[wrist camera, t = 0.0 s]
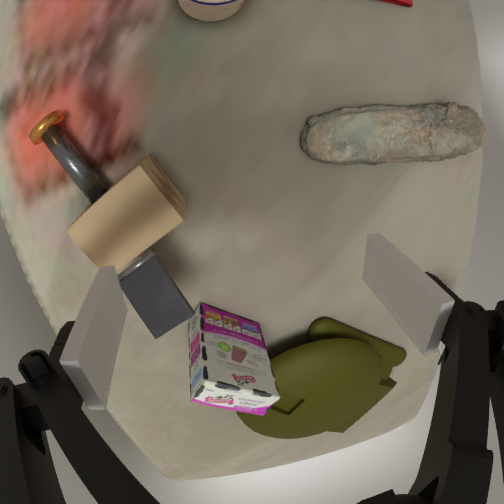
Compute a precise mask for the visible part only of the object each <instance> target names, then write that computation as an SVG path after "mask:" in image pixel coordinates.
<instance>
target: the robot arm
mask: <svg viewBox="0 0 504 504" xmlns="http://www.w3.org/2000/svg"><path fill="white" fill-rule="evenodd" d="M362 279H363V280H364V281H365V283H366V284H367V285H368V286H369V288H370V289H371V290H372V291H373V292H374V294H375V295H376V296H377V297H378V298H379V300H380V301H381V302H382V303H383V305H384V306H385V307H386V308H387V310H388V311H389V312H390V313H391V315H392V316H393V317H394V318H395V320H396V321H397V322H398V323H399V325H400V326H401V327H402V328H403V330H404V331H405V332H406V334H407V335H408V336H409V337H410V339H411V340H412V341H413V343H414V344H415V345H416V347H417V348H418V349H419V350H420V352H421V353H422V354H423V356H425V355H428V354H430V353H433V352H436V351H437V349H438V347H439V344H440V341H442V343H443V344H444V345H445V348H444V350H443V352H442V355H441V357H440V359H439V362H438V365H439V364H440V363H441V370H440V378H439V383H438V389H437V395H436V401H435V406H434V411H433V416H432V421H431V426H430V430H429V434H428V438H427V442H426V447H425V450H424V454H423V458H422V461H421V465H420V468H419V472H418V475H417V478H416V480H415V482H414V484H413V486H412V487H411V489H410V491H409V493H408V494H398V495H395V494H394V491H393V489H391V490H389V491H386V492H384V493H381V494H378V495H376V496H373V497H370V498H367V499H365V500H362V501H360V502H359V503H357V504H486V502H487V497H488V491H489V486H490V480H491V473H492V465H493V452H492V450H487V435H488V422H489V401H490V398H491V403H492V408H493V413H494V418H495V423H496V428H497V434H498V440H499V447H500V454H501V463H502V472H503V482H504V300H503V301H499V302H498V303H497V306H496V308H495V310H488V311H487V310H484V308H482V306H480V305H479V304H477V303H475V302H469V301H466V302H463V301H462V300H461V299H460V298H459V297H458V296H457V295H456V294H455V293H454V292H452V291H451V290H450V289H449V288H447V286H446V285H445V284H444V283H442V281H440V280H439V279H438V278H437V277H436V276H434V275H432V274H430V273H428V272H424V271H423V270H422V269H420V268H419V267H418V266H417V265H416V264H415V263H414V262H413V261H411V260H410V259H409V258H408V257H407V256H406V255H405V254H403V253H402V252H401V251H400V250H399V249H398V248H396V247H395V246H394V245H393V244H392V243H391V242H389V241H388V240H387V239H386V238H385V237H383V236H382V235H381V234H380V233H376V234H367V242H366V251H365V260H364V268H363V275H362ZM127 311H128V309H127V306H126V303H125V300H124V297H123V294H122V290H121V287H120V284H119V280H118V277H117V273H116V270H115V266H114V265H112V266H104V267H100V269H99V271H98V273H97V275H96V277H95V279H94V281H93V283H92V285H91V288H90V290H89V292H88V294H87V296H86V298H85V300H84V303H83V305H82V307H81V309H80V312H79V314H78V316H77V318H76V321H68V322H67V323H66V324H65V325H64V326H63V327H62V328H61V329H60V331H59V334H58V336H57V339H56V340H55V343H54V346H53V347H52V349H51V352H50V354H49V356H48V354H47V353H46V352H45V351H43V350H33V351H31V352H28V353H27V354H26V355H24V356H23V357H22V359H21V360H20V362H19V365H18V368H19V371H20V373H21V374H22V376H23V378H24V379H25V381H26V382H27V383H23V384H19V385H14V384H13V382H12V381H11V380H10V379H9V378H5V377H4V378H0V504H66V502H65V500H64V497H63V494H62V491H61V488H60V485H59V481H58V478H57V475H56V471H55V468H54V464H53V461H52V457H51V453H50V449H49V445H48V441H47V436H46V432H45V430H50V429H51V431H52V433H53V435H54V437H55V439H56V440H57V442H58V444H59V445H60V447H61V449H62V450H63V452H64V454H65V456H66V457H67V458H68V460H69V462H70V463H71V465H72V467H73V468H74V470H75V471H76V473H77V474H78V476H79V477H80V479H81V480H82V482H83V483H84V485H85V486H86V487H87V489H88V490H89V492H90V493H91V494H92V496H93V497H94V499H95V500H96V501H97V502H98V504H160V503H159V502H158V501H157V500H156V499H155V498H154V497H153V496H152V495H151V494H150V493H149V492H148V491H147V490H146V489H145V488H144V487H143V485H142V484H141V483H140V482H139V481H138V480H137V479H136V478H135V477H134V476H133V474H131V472H130V471H129V470H128V469H127V468H126V466H124V464H123V463H122V462H121V461H120V459H119V458H118V457H117V456H116V455H115V453H114V452H113V451H112V450H111V448H110V447H109V446H108V445H107V443H106V442H105V441H104V440H103V438H102V437H101V436H100V434H99V433H98V432H97V430H96V429H95V428H94V426H93V425H92V424H91V422H90V421H89V419H88V418H87V416H86V415H85V414H84V412H83V411H82V409H81V407H82V403H83V401H84V403H85V404H86V406H87V407H88V409H98V410H99V409H100V410H101V409H102V410H104V409H106V406H107V401H108V395H109V390H110V385H111V380H112V375H113V370H114V365H115V361H116V356H117V352H118V347H119V343H120V339H121V335H122V331H123V326H124V322H125V319H126V315H127ZM441 361H442V362H441Z"/></svg>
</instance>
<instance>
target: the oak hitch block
mask: <svg viewBox="0 0 504 504" xmlns="http://www.w3.org/2000/svg"><path fill="white" fill-rule="evenodd" d="M108 189H109V190H108V191H107V192H106V193H105V194H103V195H102V196H101V197H100V198H99V199H98V200H97V201H96V202H95V203H93V204H91V205H89V206H88V207H87V208H86V209H85V210H84V211H83V212H82V214H81V215H80V216H79V217H78V218H77V219H76V220H75V221H74V222H73V223H72V225H71V226H70V227H69V228H68V229H67V230H66V233H67V234H68V235H69V236H70V237H71V238H72V239H73V241H74V242H75V243H76V244H77V245H78V246H79V247H80V248H81V249H82V251H83V252H84V253H85V254H86V255H87V256H88V257H89V258H90V259H91V260H92V261H93V263H94V264H95V265H96V266H97V267H98V268H99V269H100V267H104V266H112V265H114V266H115V270H116V272H118V271H119V270H120V269H121V268H123V267H124V266H125V265H126V264H128V263H129V262H130V261H132V260H133V259H134V258H135V257H137V256H138V255H139V254H141V253H142V252H143V251H145V250H146V249H147V248H148V247H150V246H151V245H152V244H154V243H155V242H156V241H158V240H159V239H160V238H162V237H163V236H164V235H166V234H167V233H168V232H170V231H171V230H172V229H174V228H175V227H177V226H178V225H179V224H181V223H182V222H183V221H184V217H185V208H186V199H185V198H184V196H183V195H182V194H181V192H180V191H179V190H178V189H177V187H176V186H175V185H174V184H173V182H172V181H171V180H170V178H169V177H168V176H167V175H166V173H165V172H164V171H163V170H162V168H161V167H160V166H159V164H158V163H157V162H156V161H155V159H154V158H153V157H152V155H151V154H149V155H148V156H147V157H145V158H144V159H143V160H142V161H140V162H139V163H138V164H137V165H135V166H134V167H133V168H132V169H131V170H129V171H128V172H127V173H126V174H125V175H123V176H122V177H121V178H120V179H119V180H118V181H116V182H115V183H114V184H113V185H112V186H111V187H109V188H108Z"/></svg>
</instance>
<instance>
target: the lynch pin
mask: <svg viewBox="0 0 504 504" xmlns="http://www.w3.org/2000/svg"><path fill="white" fill-rule="evenodd" d="M64 119H65V118H64V116H63V115H62V114H61V112H60V111H59V110H57V111H54V112H52V113H51V114H49V115H48V116H46V117H45V118H44V119H42V120H41V121H40V122H39V123H38V124H37V125H36V126H35V127H34V129H33V130H32V131H31V133H30V135H29V138H30V140H31V141H32V143H33V144H34V145H37V144H39V143H41V142H42V141H43V142H44V143H45V144H46V146H47V147H48V148H49V150H50V151H51V152H52V154H53V155H54V156H55V158H56V159H57V160H58V162H59V163H60V164H61V166H62V167H63V168H64V169H65V171H66V172H67V173H68V174H69V176H70V177H71V178H72V180H73V181H74V182H75V183H76V185H77V186H78V187H79V188H80V189H81V191H82V192H83V193H84V194H85V196H86V197H87V198H88V199H89V200H90V202H91V203H92V204H93V203H95V202H96V201H97V200H98V199H99V198H100V197H101V196H102V195H103V194H105V193H106V192H107V191H108V190H109V189H108V188H107V187H106V186H105V185H104V183H103V182H102V181H101V180H100V178H99V177H98V176H97V175H96V173H95V172H94V171H93V170H92V168H91V167H90V166H89V165H88V163H87V162H86V161H85V159H84V158H83V157H82V156H81V154H80V153H79V152H78V150H77V149H76V148H75V147H74V145H73V144H72V143H71V141H70V140H69V139H68V137H67V136H66V135H65V133H64V132H63V131H62V129H61V128H60V127H59V126H60V125H61V124H62V123H63V121H64Z"/></svg>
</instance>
